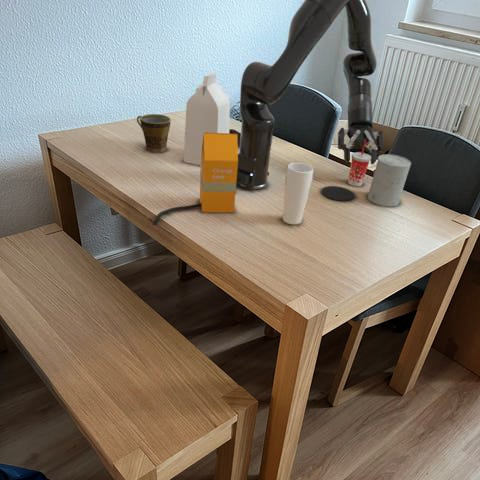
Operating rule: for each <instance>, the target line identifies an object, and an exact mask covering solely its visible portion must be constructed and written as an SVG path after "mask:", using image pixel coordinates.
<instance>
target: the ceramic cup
mask: <svg viewBox="0 0 480 480" xmlns="http://www.w3.org/2000/svg"><path fill="white" fill-rule="evenodd" d="M171 120H172V119H171V118H170V117H169V116H167V115H164V114H160V113H159V114H158V113H149V114H143V115H138V116H137V117H136V122H137V124H138V125H139V127H140V128H141V130H142V134H143V137H144V142H145V148H146V151H149V152H151V153H163V152H165V151H167V145H168V139H169V134H170V128H171Z"/></svg>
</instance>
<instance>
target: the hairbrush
mask: <svg viewBox="0 0 480 480" xmlns="http://www.w3.org/2000/svg"><path fill="white" fill-rule="evenodd" d="M229 133H230V134H237V139H238V148H240V137H241V132H239V130H236V129H233V128H229Z"/></svg>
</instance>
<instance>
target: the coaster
mask: <svg viewBox="0 0 480 480" xmlns="http://www.w3.org/2000/svg"><path fill="white" fill-rule="evenodd" d="M321 194H322V195H323V196H324V197H325V198H327V199H329V200H332V201H336V202H349V201H353V199H354V198H355V194H354V192H353V191H352V190H350V189H348V188H345V187H342V186H337V185H330V186H325V187H322V189H321Z"/></svg>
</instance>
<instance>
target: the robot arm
mask: <svg viewBox="0 0 480 480" xmlns="http://www.w3.org/2000/svg"><path fill="white" fill-rule="evenodd" d="M344 8H345V13H346V14H345V15H346V33H347V34H346V35H347V46H348V48H349V49H350V50H351V51H355V52H353V53H349V54H346V55H345V56H344V58H343V59H342V71H343V73H344V78H345V81H346V84H347V87H348V89H347V90H348V105H347V129H345V128H344V127H341V128H340V129H339V131H338V132H337V149H338V150H342V151H343V160H344V161H345V163H347V164H349V163H350V162H351V148H350V147H351V146H352V145H355V146H359V145H360V146H363V145H364V141H365V139H366V143H365V147H366V148H367V149H368V150H369V151H370V154H369V155H370V156H371V160H370V165H375V163H377V161H378V153H380V152H381V150H383V148H384V136H383V135H384V134H383V133H384V132H383V131H382V130H378V131H374V129H373V101H372V84H371V81H370V80H369V79H367V78H365V77H368V76H371V75H373V74H374V73H375V71H376V70H377V65H378V64H377V63H378V61H377V57H376V53H375V51H374V48H373V47H374V46H373V43H372V16H371V11H370V9H369V5H368V3H367V1H366V0H304V1H303V2H302V3H301V5H300V6H299V8H298V9H297V11H296V12H295V13H294V15H293V17H292V19H291V21H290V24H289V29H288V35H287V42H286V46H285V48H284V49H283V51H282V53H281V54H280V56H279V57H278V59H277V60H276V61H275V62H274V63H273V64H272V65H270V64H267V63H264V62H261V61H252V62H250V63H249V64H248V65H247V66H246V67H245V69H244V70H243V72H242V76H241V81H240V82H241V83H240V97H239V98H240V99H239V114H240V118H241V125H240V128H241V129H240V133H241V137H240V147H239V149H238V168H237V179H236V186H237V187H241V188H243V189H245V190H248V191H253V190H262V189H264V188H266V187H267V185H268V177H269V175H270V172H269V166H270V158H271V150H272V143H273V136H274V135H273V134H274V128H275V118H274V116H273V114H272V113H271V112H270V110H269V108H268V106H271V105H274V104H276V103H277V102H278V101H279V100H280V99H281V98H282V97H283V95H284V94H285V93H286V91H287V89H288V87H289V86H290V84H291V83H292V81H293V79H294V78H295V76H296V74H297V73H298V71H299V70H300V68H301V66H302V65H303V63H304V62H305V61H306V59H307V58H308V57H309V55H310V54H311V52H312V51H313V50H314V49H315V47H316V45H317V44H318V43H319V42H320V41H321V39H322V38H323V37H324V35H325V34H326V33H327V31H328V30H329V28H330V27H331V26H332V24H333V23H334V21H335V20H336V19H337V17H338V16H339V15H340V13H341V12H342V11H343V9H344ZM346 136H347V137H348V139H349V141H348V142H347V144H345V137H346ZM373 137H374V139H373ZM196 208H201V203H200V202H199V203H195V204H189V205H183V206H182V205H181V206H176V207H171V208H168V209H164V210H163V211H160V212H159V213H158V214H157V215H156V217H155V218H154V220H153V222H152V225H153V226H156V225H158V223H159V220H160V219H161V218H162V216H164V215H167V214H169V213H173V212H176V211H183V210H184V211H185V210H193V209H196Z"/></svg>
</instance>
